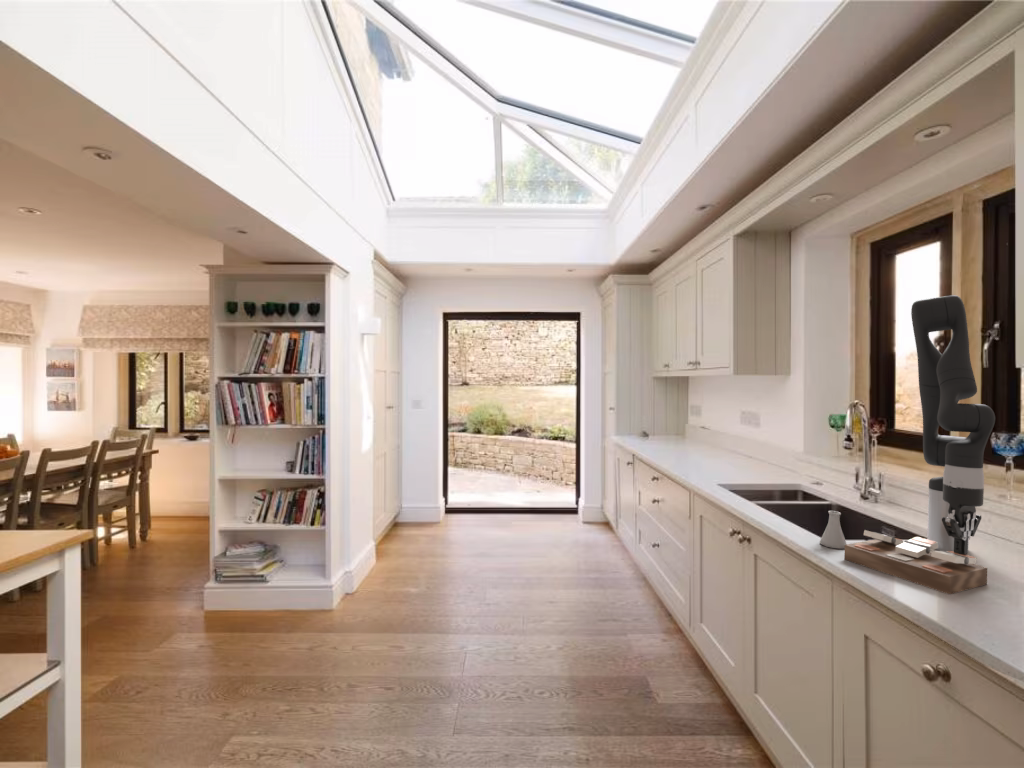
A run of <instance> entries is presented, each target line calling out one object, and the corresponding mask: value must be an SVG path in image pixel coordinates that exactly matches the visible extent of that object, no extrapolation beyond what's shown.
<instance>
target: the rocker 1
mask: <svg viewBox="0 0 1024 768" xmlns="http://www.w3.org/2000/svg"><path fill="white" fill-rule="evenodd" d="M863 536H865V537H868V538H871V539H872V540H875V539H877V540H880V541H884V542H888V543H891V544H898V545H899V544H902V543H904V540H903V539H900V538H897V537H894V536H891V535H887V534H882V533H880V532H876V531H869V530H866V529H864V531H863Z"/></svg>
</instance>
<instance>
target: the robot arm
mask: <svg viewBox="0 0 1024 768" xmlns="http://www.w3.org/2000/svg"><path fill="white" fill-rule="evenodd" d="M910 312H911V313H910V315H911V322H912V330H913V336H914V341H915V348H916V356H917V368H918V371H917V372H918V386H919V387H918V389H919V397H920V403H921V404H920V405H921V412H922V413H921V414H922V451H923V452H922V453H923V459H924V461H925V462H926V463H927V465H931V466H937V467H943V468H944V469H943V475H942V476H936V477H932V478H930V479H929V480H928V500H927V501H928V502H927V503H928V504H927V534H926V535H927V536H926V537H927V538H926V539H928V540H932V541H935V542H938V548H936V549H935V550H936V551H941V550H943V551H954V553H958V554H961V555H969V544H970V543H969V540H971V537H975V534H976V532H977V530H978V527H979V525H980V523H981V521H982V515H978V514H977V513H976V512H977V509H976V508H977V507H982V506H984V493H985V488H984V487H985V474H984V456H985V455H984V452H985V448H986V445H987V443H988V440H989V437H990V435H991V433H992V431H993V428H994V426H995V423H996V415H995V412H994V410H993V409H992V408H991V407H990V406H989V405H986V404H984V403H983V404H981V403H959V402H960V400H966V399H969V398H973V397H974V396H975V395H976V394H978V393H977V392H978V385H977V382H976V378H975V375H974V371H973V367H972V362H971V354H970V353H971V352H970V340H969V339H970V338H969V330H968V328H969V327H968V320H967V314H966V313H967V312H966V308H965V304H964V302H963V300H962V298H961V297H960V296H958V295H955V294H954V295H953V294H952V295H945V296H938V297H932V298H926V299H920V300H919V299H918V300H915V301H914V302H913V303H912V305H911V311H910ZM948 330H949V331H950V330H951V333H952V334H951V339H950V341H949V343H948V345H947V346H946V348H945V350H944V351H943V352H942V353H941V352H940V350H939V349H938V348H937V347H936V346H935V345H934V343H933V341H932V339H931V338H930V333H934V332H935V333H936V332H940V331H941V332H942V331H948ZM940 427H941V428H942V429H943V430H945V431H948V432H953V433H954V432H959V433H969V434H968V435H967V436H954V435H945V434H944V435H941V434H939V428H940Z"/></svg>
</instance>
